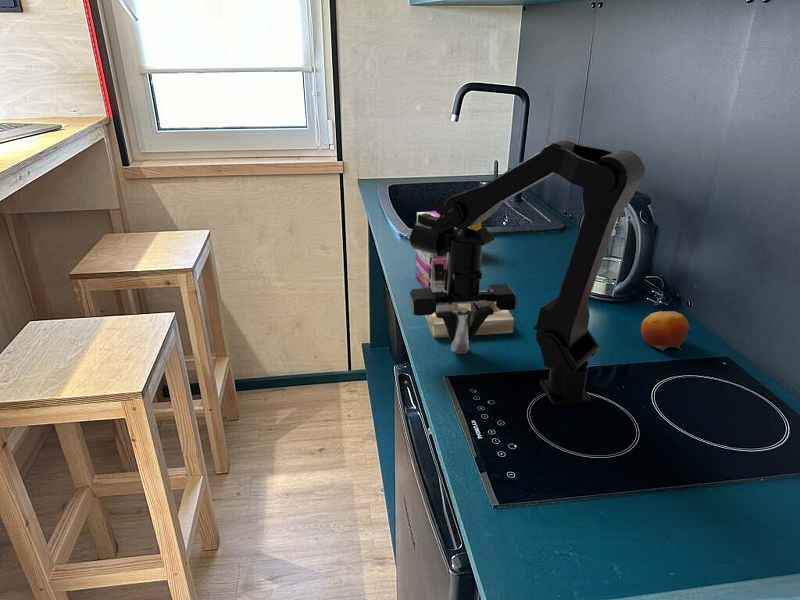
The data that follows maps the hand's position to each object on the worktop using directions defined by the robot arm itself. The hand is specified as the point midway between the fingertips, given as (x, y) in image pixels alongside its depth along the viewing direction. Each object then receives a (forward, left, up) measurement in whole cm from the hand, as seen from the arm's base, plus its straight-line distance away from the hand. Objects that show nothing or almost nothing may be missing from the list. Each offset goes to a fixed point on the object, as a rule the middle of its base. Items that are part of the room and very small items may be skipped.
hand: (460, 340), depth 105 cm
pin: (0, 0, -2) cm, 2 cm away
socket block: (+11, -4, -2) cm, 12 cm away
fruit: (-3, -39, -2) cm, 39 cm away
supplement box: (+49, -13, -2) cm, 51 cm away
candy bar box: (+30, 0, -2) cm, 30 cm away
